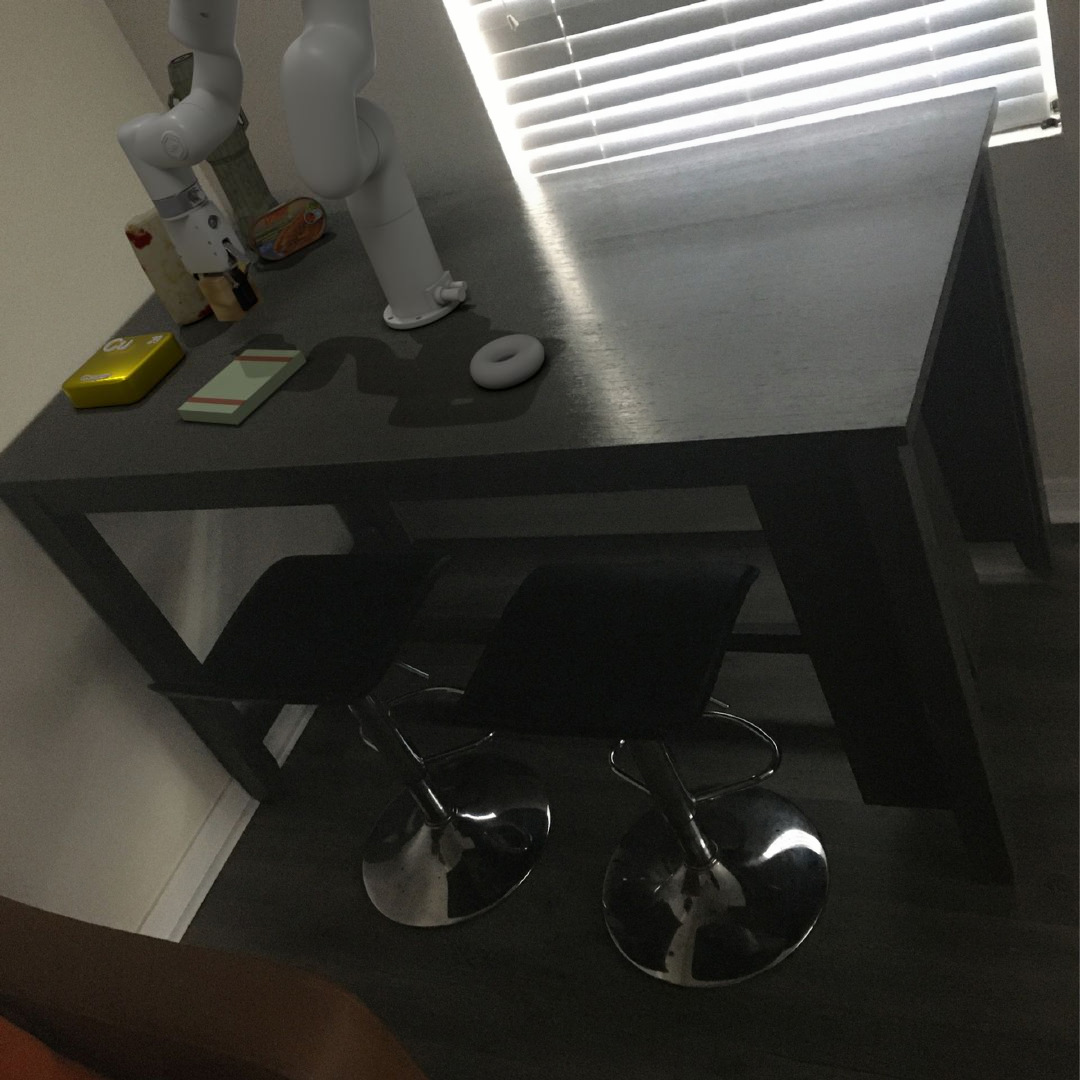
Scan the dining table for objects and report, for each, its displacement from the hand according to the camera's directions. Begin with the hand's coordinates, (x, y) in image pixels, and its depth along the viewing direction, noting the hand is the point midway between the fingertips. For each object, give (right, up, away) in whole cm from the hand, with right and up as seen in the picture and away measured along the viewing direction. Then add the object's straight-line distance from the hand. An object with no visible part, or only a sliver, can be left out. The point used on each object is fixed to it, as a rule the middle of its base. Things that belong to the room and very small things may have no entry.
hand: (238, 305), depth 171 cm
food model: (-12, +2, +19) cm, 22 cm away
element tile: (-19, -11, +6) cm, 23 cm away
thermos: (-5, +22, +41) cm, 47 cm away
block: (0, -1, +1) cm, 1 cm away
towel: (+4, -15, -11) cm, 19 cm away
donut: (+44, -16, -31) cm, 56 cm away
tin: (+2, +18, +31) cm, 36 cm away
